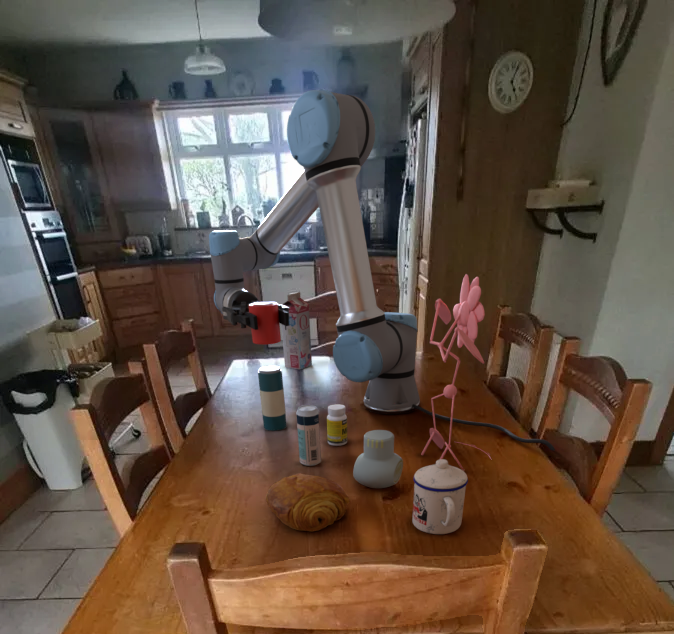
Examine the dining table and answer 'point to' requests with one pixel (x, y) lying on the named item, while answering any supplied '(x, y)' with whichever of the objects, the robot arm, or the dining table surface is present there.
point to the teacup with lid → (439, 498)
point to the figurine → (467, 330)
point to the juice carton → (297, 334)
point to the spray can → (272, 397)
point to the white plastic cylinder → (308, 435)
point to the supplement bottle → (336, 425)
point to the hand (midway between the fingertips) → (271, 321)
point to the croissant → (307, 501)
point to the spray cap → (266, 323)
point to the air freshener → (378, 461)
